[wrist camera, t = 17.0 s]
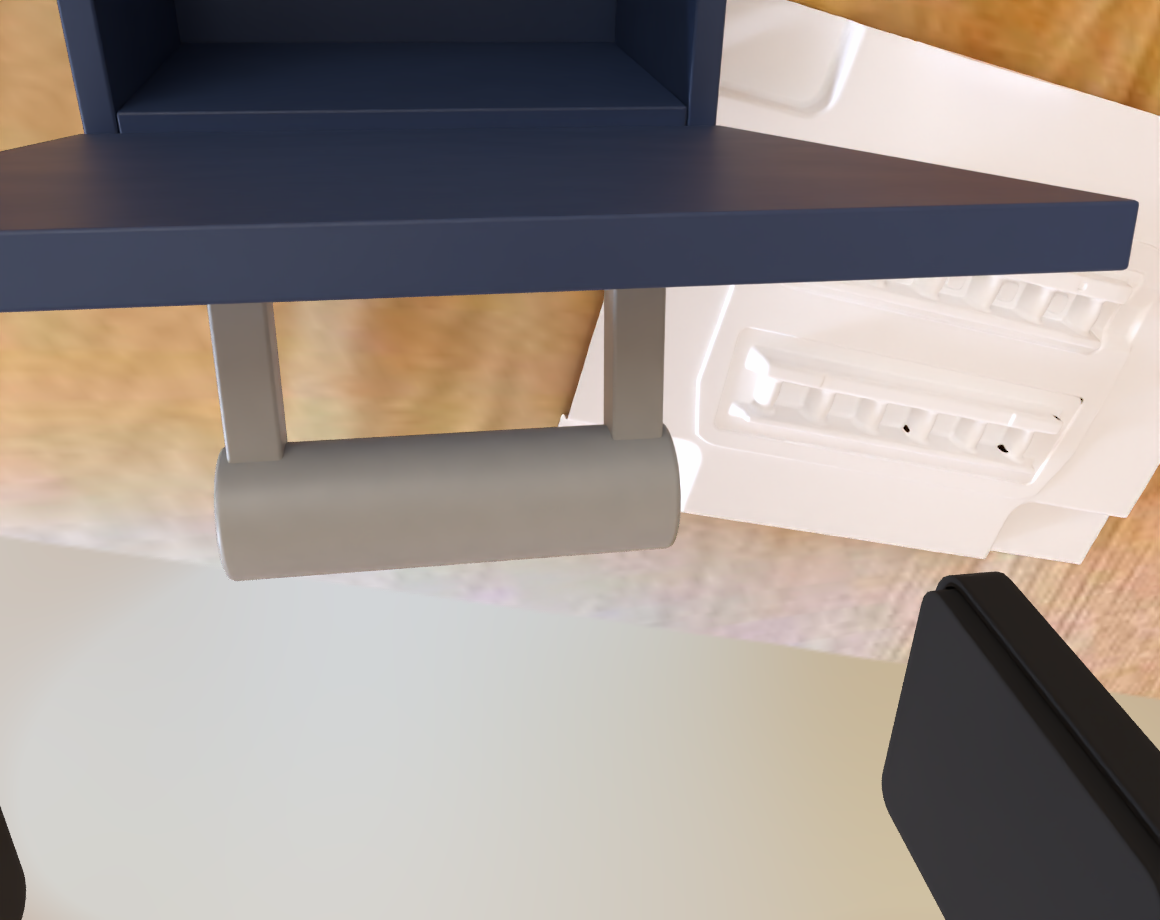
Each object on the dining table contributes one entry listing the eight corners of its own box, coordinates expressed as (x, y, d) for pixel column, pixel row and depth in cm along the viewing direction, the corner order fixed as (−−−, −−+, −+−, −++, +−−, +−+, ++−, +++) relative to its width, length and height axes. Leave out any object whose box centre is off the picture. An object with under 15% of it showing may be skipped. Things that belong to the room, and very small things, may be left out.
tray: (1083, 565, 53) (1125, 611, 49) (538, 470, 46) (547, 516, 43) (1321, 160, 43) (1393, 185, 40) (684, -32, 37) (710, -21, 33)
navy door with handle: (-419, 242, 10) (-264, 713, 11) (1142, 200, 12) (1071, 595, 14) (78, 133, 25) (112, 342, 27) (721, 124, 27) (713, 316, 29)
